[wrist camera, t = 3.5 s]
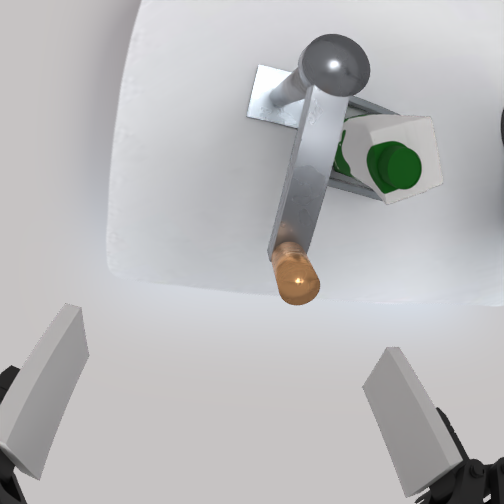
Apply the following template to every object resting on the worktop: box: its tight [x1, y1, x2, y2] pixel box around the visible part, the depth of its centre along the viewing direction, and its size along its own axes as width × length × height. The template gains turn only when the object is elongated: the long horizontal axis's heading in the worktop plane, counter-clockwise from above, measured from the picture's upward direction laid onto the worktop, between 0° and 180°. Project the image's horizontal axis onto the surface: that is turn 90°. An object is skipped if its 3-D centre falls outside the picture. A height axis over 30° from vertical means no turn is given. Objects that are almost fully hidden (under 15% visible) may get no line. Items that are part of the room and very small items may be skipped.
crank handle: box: [267, 34, 370, 305], centre depth 17 cm, size 17×4×6 cm, turn 168°
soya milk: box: [333, 114, 443, 205], centre depth 32 cm, size 9×9×20 cm
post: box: [246, 65, 307, 128], centre depth 28 cm, size 8×8×23 cm
